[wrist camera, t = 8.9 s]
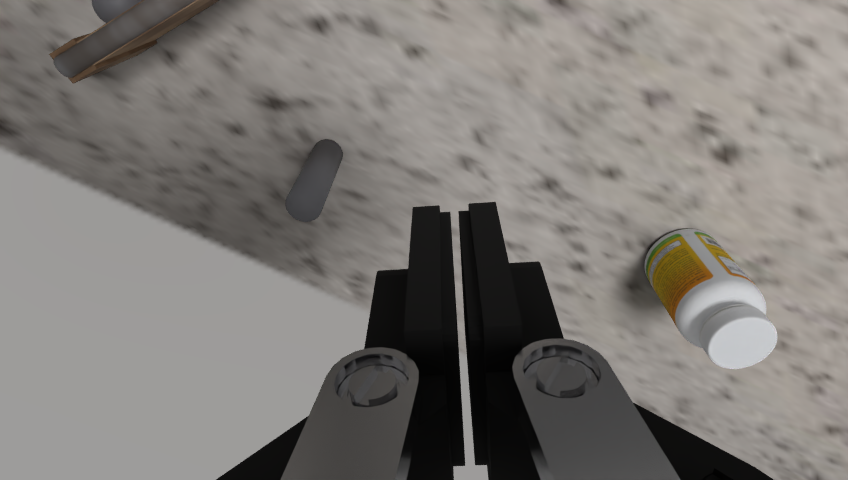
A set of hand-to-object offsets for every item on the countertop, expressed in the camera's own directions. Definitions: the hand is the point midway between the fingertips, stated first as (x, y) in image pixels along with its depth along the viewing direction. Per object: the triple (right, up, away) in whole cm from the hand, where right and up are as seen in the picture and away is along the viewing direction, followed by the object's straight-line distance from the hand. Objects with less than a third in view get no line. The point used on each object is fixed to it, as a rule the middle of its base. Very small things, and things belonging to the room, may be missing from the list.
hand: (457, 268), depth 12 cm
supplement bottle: (+18, -1, +30) cm, 35 cm away
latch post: (-7, +6, +26) cm, 28 cm away
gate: (-14, +15, +21) cm, 29 cm away
